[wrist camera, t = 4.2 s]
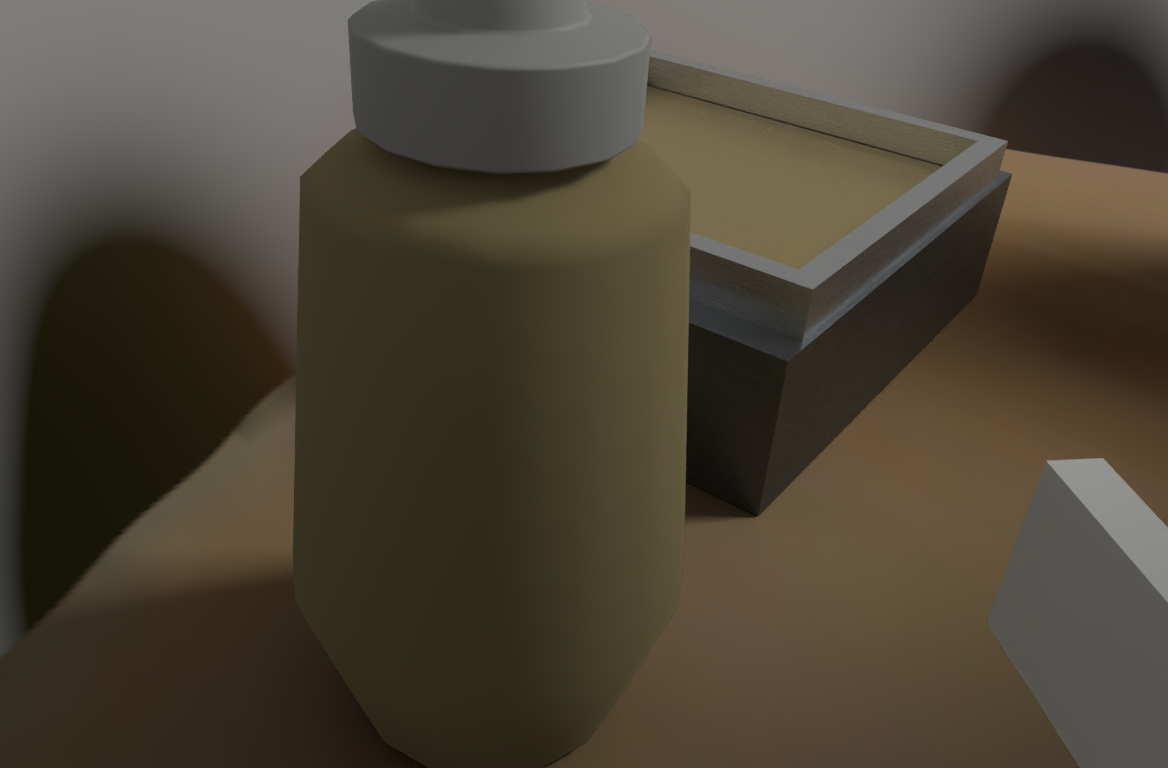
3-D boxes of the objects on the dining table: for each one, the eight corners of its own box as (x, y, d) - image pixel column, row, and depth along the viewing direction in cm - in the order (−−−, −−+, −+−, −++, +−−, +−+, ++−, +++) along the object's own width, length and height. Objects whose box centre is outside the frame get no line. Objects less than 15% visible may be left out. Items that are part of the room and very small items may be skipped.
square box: (641, 183, 49) (655, 42, 46) (976, 293, 42) (1024, 134, 38) (354, 322, 37) (342, 142, 33) (758, 516, 29) (798, 309, 26)
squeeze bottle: (230, 670, 23) (68, -288, 14) (495, 511, 29) (512, -266, 19) (479, 916, 19) (496, -239, 9) (738, 675, 24) (920, -228, 15)
